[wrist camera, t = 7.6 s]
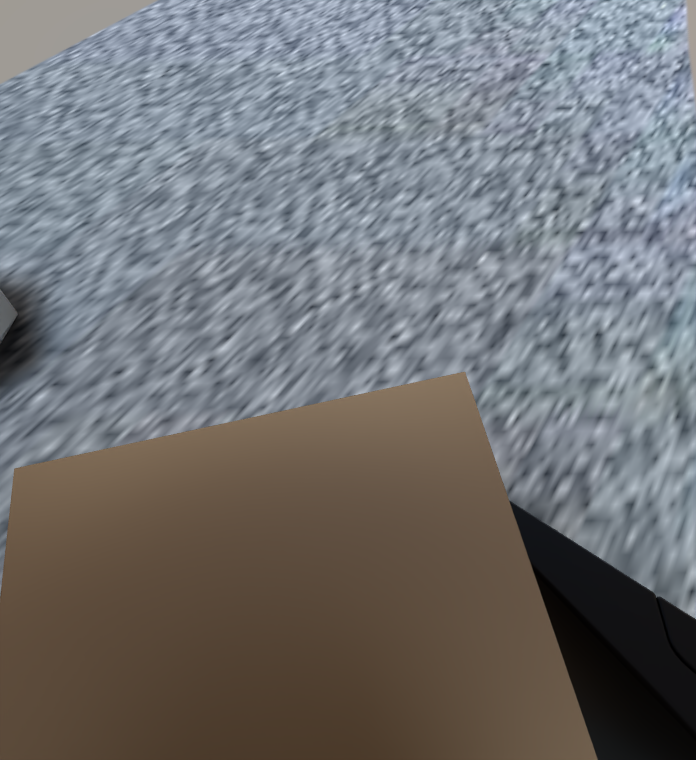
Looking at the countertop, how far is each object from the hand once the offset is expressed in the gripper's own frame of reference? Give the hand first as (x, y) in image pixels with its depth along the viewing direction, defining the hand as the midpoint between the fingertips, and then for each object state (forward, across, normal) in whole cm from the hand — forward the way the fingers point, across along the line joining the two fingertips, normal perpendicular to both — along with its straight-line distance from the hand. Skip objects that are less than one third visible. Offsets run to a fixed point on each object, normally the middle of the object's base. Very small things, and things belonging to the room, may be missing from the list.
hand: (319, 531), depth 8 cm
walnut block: (+4, 0, +6) cm, 8 cm away
